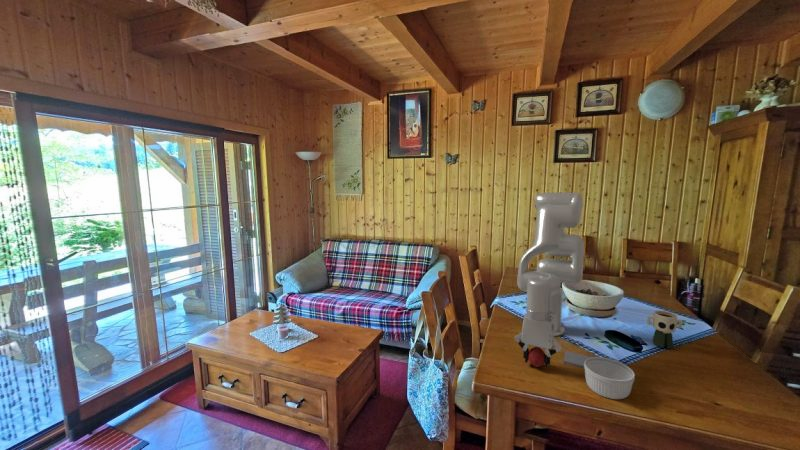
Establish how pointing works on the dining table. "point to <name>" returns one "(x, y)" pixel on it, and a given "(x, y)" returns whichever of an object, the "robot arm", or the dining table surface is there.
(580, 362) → the coaster
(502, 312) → the dining table surface
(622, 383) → the ramekin
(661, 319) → the character mug
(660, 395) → the dining table surface
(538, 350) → the onion
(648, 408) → the dining table surface
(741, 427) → the dining table surface
